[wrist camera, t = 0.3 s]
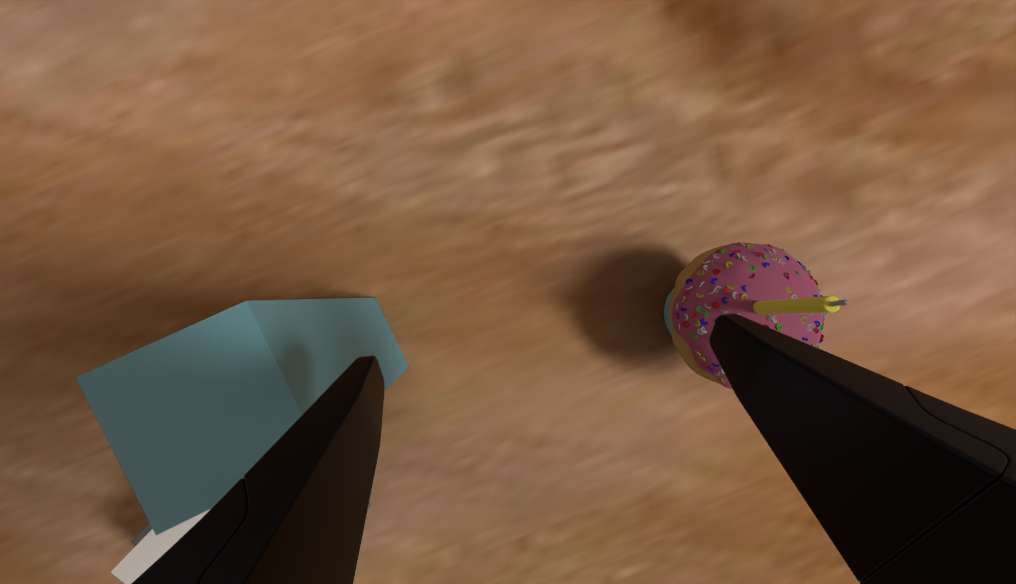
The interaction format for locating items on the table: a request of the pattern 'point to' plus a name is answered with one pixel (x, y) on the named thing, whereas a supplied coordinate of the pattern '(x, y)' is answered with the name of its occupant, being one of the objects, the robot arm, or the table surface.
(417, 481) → the table surface
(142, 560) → the tower top slab
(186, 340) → the teal pillar
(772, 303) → the cupcake
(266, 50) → the table surface
